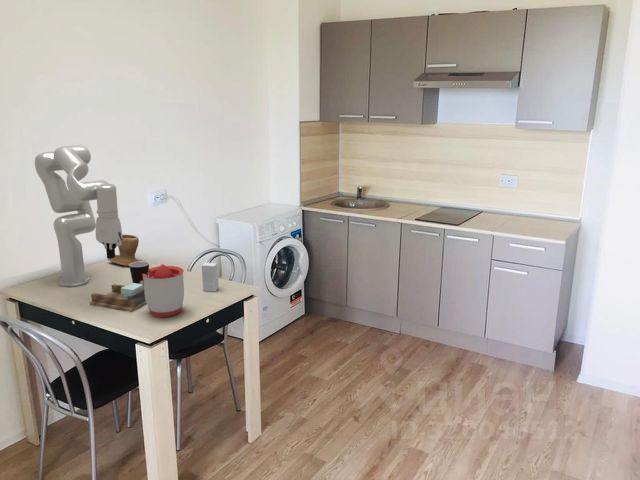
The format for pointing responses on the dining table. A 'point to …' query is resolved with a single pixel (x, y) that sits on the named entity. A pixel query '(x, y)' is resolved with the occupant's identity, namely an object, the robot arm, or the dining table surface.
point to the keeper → (130, 289)
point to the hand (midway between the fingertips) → (111, 257)
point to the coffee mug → (138, 270)
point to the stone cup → (126, 250)
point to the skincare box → (210, 276)
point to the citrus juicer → (164, 290)
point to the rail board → (119, 299)
